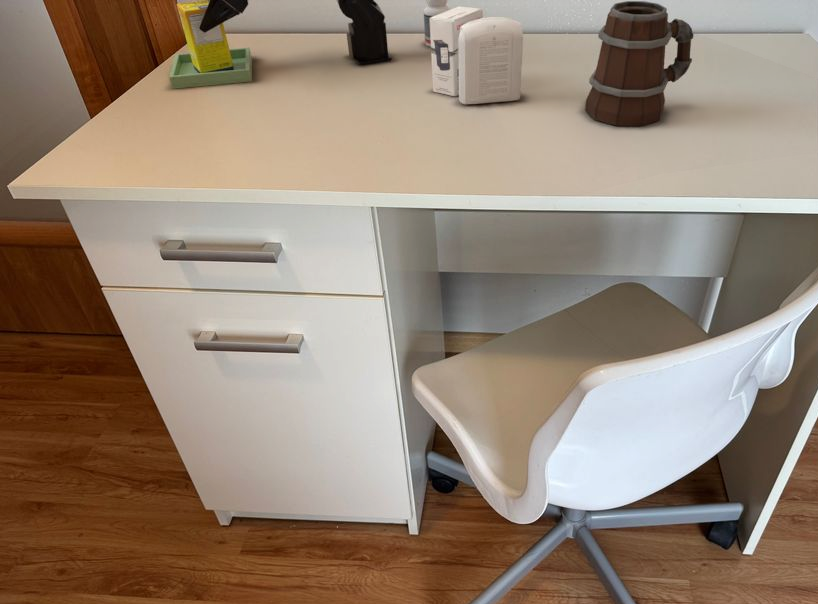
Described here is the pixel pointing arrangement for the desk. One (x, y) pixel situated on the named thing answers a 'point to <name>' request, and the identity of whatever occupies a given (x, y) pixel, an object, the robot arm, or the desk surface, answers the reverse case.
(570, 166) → the desk surface
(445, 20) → the ink box
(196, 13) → the supplement box
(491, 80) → the white rounded box
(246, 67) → the green tray
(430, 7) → the pill bottle
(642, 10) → the mug
